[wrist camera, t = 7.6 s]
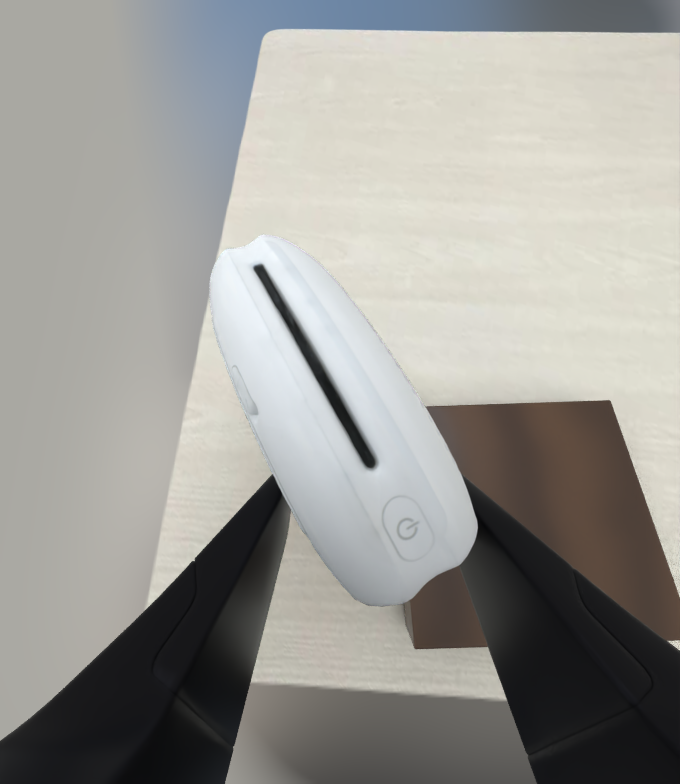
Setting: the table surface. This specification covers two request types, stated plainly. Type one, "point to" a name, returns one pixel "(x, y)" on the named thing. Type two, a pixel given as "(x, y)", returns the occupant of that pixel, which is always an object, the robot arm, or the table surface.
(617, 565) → the walnut stand
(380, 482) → the photo printer
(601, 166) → the table surface
